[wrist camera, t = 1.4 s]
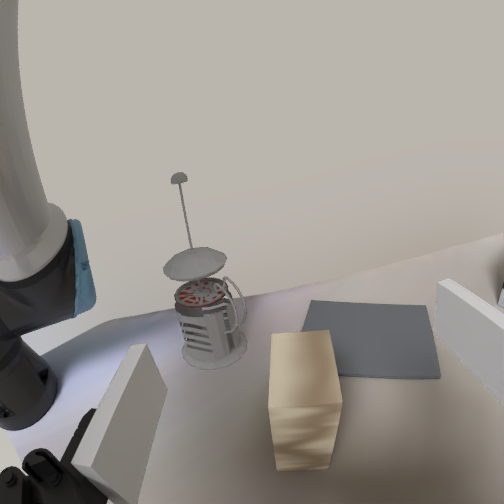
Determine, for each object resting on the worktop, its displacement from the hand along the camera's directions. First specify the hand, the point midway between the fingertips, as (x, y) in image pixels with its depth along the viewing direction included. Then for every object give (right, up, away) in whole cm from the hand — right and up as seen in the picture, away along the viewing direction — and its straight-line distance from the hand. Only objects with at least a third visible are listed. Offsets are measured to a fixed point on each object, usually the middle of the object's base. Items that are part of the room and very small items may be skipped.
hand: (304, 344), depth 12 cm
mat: (+15, -8, +27) cm, 32 cm away
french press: (-7, -10, +30) cm, 32 cm away
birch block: (+3, -16, +14) cm, 21 cm away
